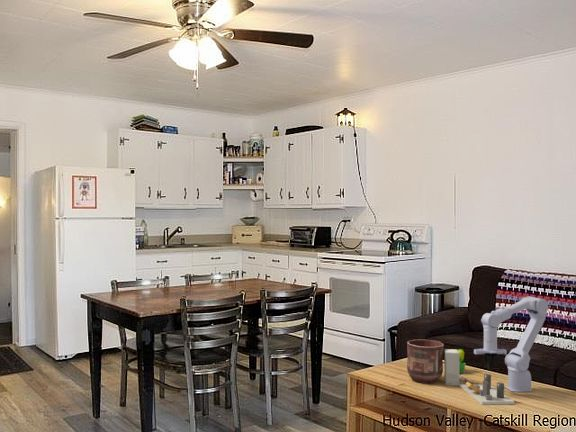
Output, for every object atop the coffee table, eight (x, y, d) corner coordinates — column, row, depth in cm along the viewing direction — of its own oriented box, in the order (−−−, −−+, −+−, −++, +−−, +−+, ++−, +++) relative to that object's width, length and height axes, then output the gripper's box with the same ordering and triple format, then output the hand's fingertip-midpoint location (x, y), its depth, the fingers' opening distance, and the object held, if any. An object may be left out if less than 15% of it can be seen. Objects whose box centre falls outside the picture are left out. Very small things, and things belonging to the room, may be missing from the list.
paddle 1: (473, 384, 249) (461, 375, 249) (476, 386, 245) (465, 378, 245) (471, 386, 249) (460, 378, 249) (475, 389, 245) (463, 381, 245)
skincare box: (459, 386, 253) (460, 353, 253) (445, 385, 254) (445, 352, 255) (457, 381, 261) (458, 349, 261) (443, 380, 263) (444, 348, 263)
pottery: (445, 386, 253) (446, 347, 253) (407, 383, 256) (407, 345, 256) (441, 376, 270) (442, 340, 271) (405, 374, 273) (406, 338, 274)
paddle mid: (479, 388, 242) (467, 381, 242) (483, 391, 238) (470, 384, 238) (477, 391, 242) (465, 384, 242) (481, 394, 238) (469, 386, 238)
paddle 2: (485, 395, 235) (485, 380, 236) (489, 398, 231) (490, 383, 231) (482, 395, 235) (482, 380, 235) (486, 398, 231) (486, 383, 231)
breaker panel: (489, 386, 253) (489, 371, 253) (514, 404, 229) (514, 387, 229) (460, 387, 252) (460, 371, 252) (482, 404, 228) (482, 387, 228)
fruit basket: (443, 368, 285) (443, 346, 285) (459, 367, 286) (459, 346, 286) (451, 374, 273) (452, 352, 273) (468, 374, 274) (468, 351, 274)
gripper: (478, 342, 242) (478, 372, 241) (509, 341, 242) (509, 372, 242) (472, 338, 249) (471, 368, 248) (502, 338, 249) (502, 367, 249)
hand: (490, 369), depth 246 cm, fingers closed
